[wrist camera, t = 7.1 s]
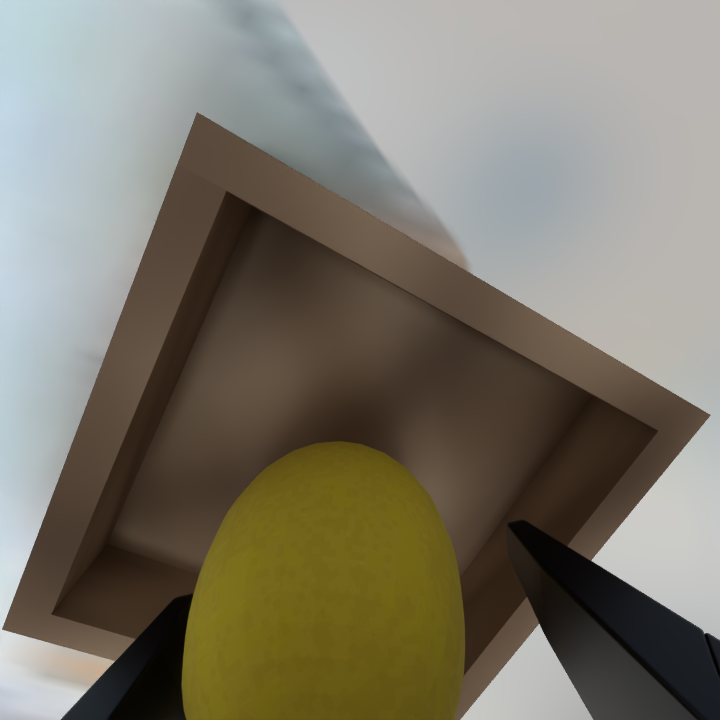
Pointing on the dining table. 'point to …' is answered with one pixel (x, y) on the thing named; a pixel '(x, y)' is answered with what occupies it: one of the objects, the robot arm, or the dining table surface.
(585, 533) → the tray
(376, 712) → the lemon
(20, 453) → the dining table surface
